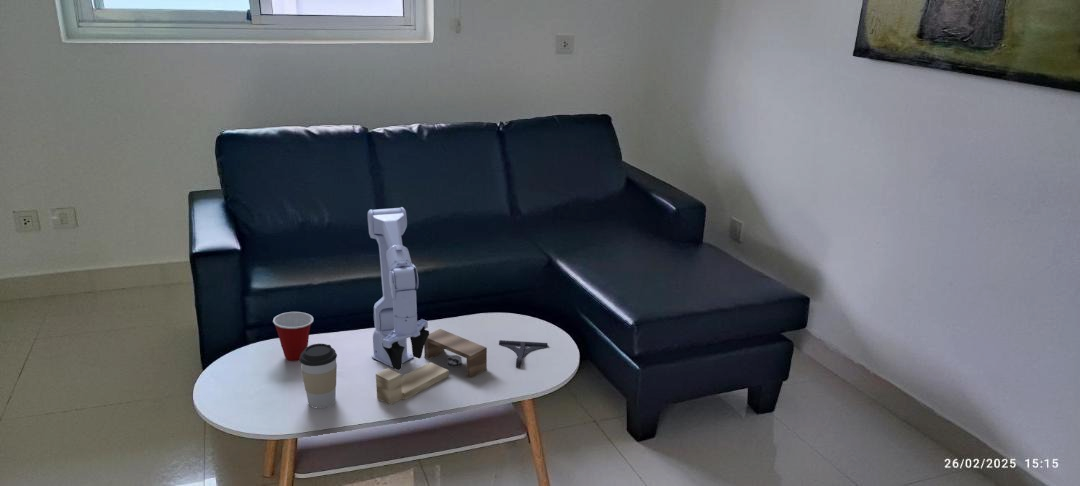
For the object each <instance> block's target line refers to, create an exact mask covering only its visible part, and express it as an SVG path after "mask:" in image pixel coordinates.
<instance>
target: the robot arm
mask: <svg viewBox="0 0 1080 486" xmlns="http://www.w3.org/2000/svg"><path fill="white" fill-rule="evenodd" d="M407 217H408V216H407V211H406V209H405V208H404V207H403V206H401V207H394V208H393V207H392V208H379V209H369V210H368V211H367V226H368V234H369V237H370V239H374V240H376V242H377V244H378V251H379V263H380V277H381V287H382V289H381V290H382V297H381V298H380V299H378V301H376V302H375V303H374V306H373V321H374V322H373V323H374V329H375V330H374V332H373V334H372V346H373V349H372V350H373V354H372V355H371V357H370V358H372V359H375V360H377V361H378V362H380V363H383V364H385V365H387V366H389V367H391V368H392V370H393V369H394V370H397V371H401V370H402V364H403V363H406V362H407V361H410V360H412V359H414V358H416V359H418V360H419V359H421V358H422V355H423V352H424V344H425V342H426V339H427V337H428V336H429V334H430V331H429V330H427V328H429V325H428V323H429V322H428V320H425V319H423V318H421V319H420V320H418V313H417V312H418V311H417V310H418V308H417V290H418V289H419V275H418V273H419V272H418V270H417V267H416V265H415V264H414V263H412V260H411V255H410V252H409V249H408V247H406V246H404V245H403V239H402V236H403V235H404V233H405V232H406V229H407V227H408V219H407ZM407 339H410V343H411V351H412V354H411V353H408V345H407V344H408V343H407V342H408V341H407Z"/></svg>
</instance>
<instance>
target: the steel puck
mask: <svg viewBox="0 0 1080 486" xmlns="http://www.w3.org/2000/svg"><path fill="white" fill-rule="evenodd" d="M462 358H463V357H462V356H460V355H458V354H456V355H455V354H454V355H453V354H452V355H450V356H448V357H447V366H448V367H450V368H458V367H461V366H462V364H463V361H462V360H463V359H462Z"/></svg>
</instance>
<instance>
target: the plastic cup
mask: <svg viewBox="0 0 1080 486" xmlns="http://www.w3.org/2000/svg"><path fill="white" fill-rule="evenodd" d="M272 323H273V324H274V326H275V328H276V329H275V330H276V332H277V336H278V340H279V342H280V346H281V350H282V351H283V355H284V358H285V360H287V361H290V362H298V360H299V358H300V355H301V353H302V352H303V351H304V350H305V348H306V347H308V346H309V339H310V338H309V337H310V331H311V325H312V324H313V323H314V317H313V315H311V314H309V313H306V312H301V311H289V312H283V313H280V314H278V315H276V316H274V317H273V320H272Z"/></svg>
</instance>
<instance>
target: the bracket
mask: <svg viewBox="0 0 1080 486" xmlns="http://www.w3.org/2000/svg"><path fill="white" fill-rule="evenodd" d="M498 345H499V346H502V347H505V348H508V349H510V350H511V351H513V352H514V353H515V355H516V356H517V358H516V360H515V368H521V367H522V362H523V358H524V357H525V356H526V355H527V354H529V353H530V352H534V351H537V350H541V349H542V350H544V349H547V348H548V345H549V344H548V342H536V341H517V340H504V339H503V340H501V339H500V340H499V341H498ZM526 347H527V348H526Z"/></svg>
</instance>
